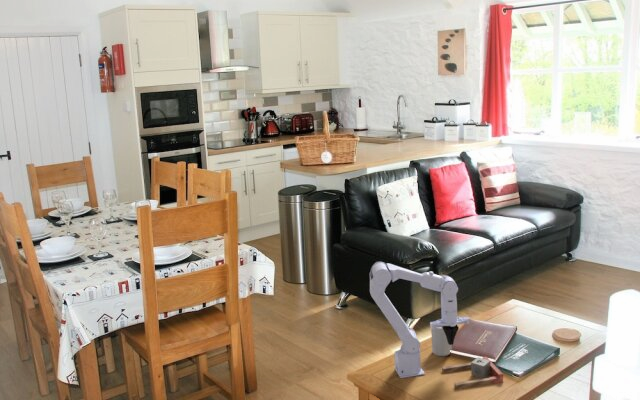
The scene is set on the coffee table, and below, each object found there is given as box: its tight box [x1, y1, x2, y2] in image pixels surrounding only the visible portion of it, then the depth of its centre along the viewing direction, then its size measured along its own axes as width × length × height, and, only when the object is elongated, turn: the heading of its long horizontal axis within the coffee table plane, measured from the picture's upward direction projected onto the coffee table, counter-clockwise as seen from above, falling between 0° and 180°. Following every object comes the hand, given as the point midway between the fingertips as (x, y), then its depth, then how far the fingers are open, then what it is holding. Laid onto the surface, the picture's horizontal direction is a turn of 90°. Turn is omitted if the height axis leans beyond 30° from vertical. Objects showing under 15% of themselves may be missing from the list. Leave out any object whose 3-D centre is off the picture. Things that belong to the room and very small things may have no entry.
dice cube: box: [470, 357, 491, 379], centre depth 224 cm, size 5×5×5 cm
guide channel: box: [441, 356, 504, 390], centre depth 223 cm, size 18×14×3 cm
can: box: [430, 327, 452, 357], centre depth 242 cm, size 8×8×12 cm
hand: (450, 343), depth 228 cm, fingers closed
